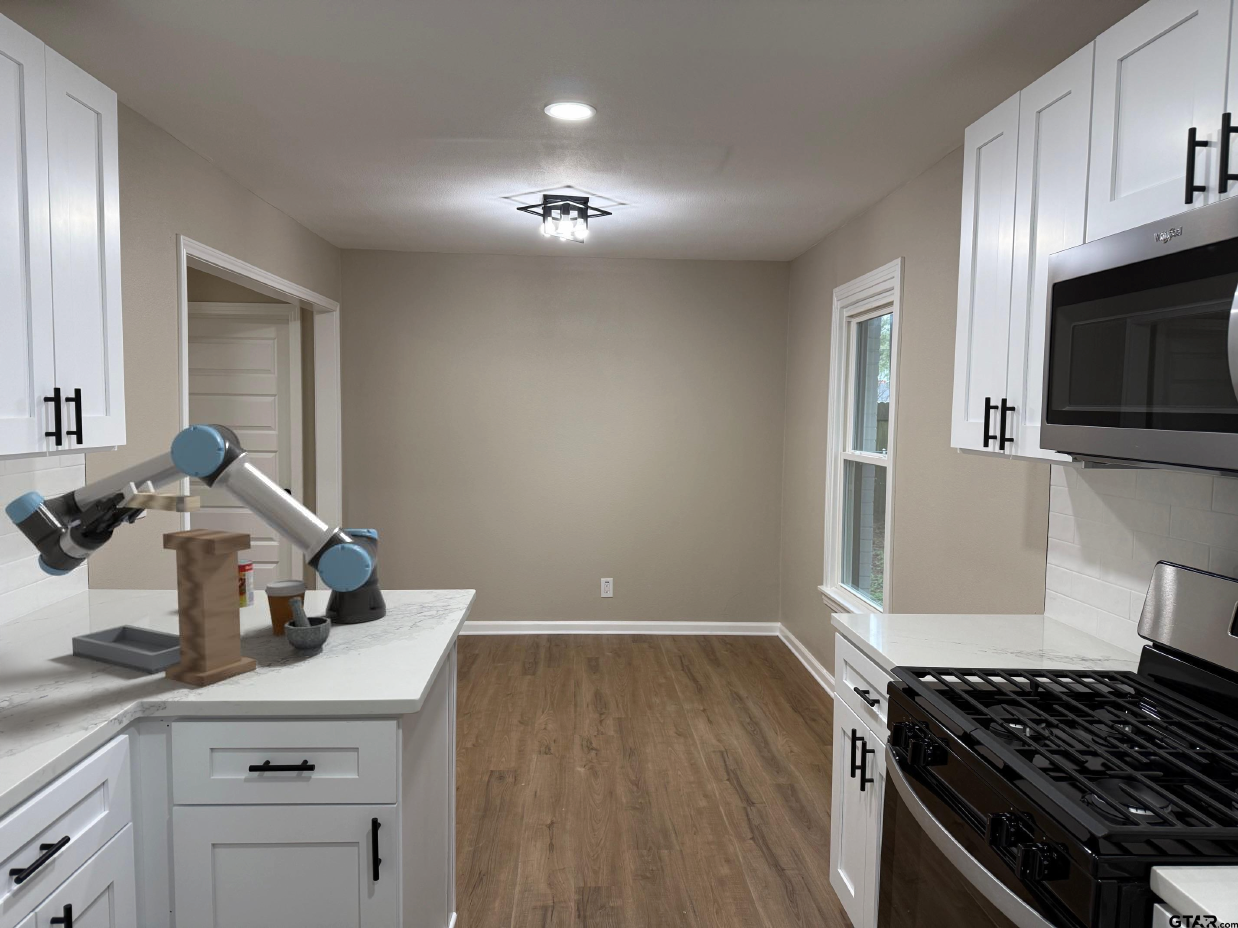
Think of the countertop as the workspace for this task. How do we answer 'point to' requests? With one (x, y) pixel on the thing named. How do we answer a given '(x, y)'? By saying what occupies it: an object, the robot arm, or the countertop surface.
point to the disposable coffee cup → (283, 601)
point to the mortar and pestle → (306, 631)
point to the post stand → (208, 605)
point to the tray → (130, 648)
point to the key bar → (164, 502)
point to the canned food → (245, 582)
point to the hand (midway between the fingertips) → (142, 487)
